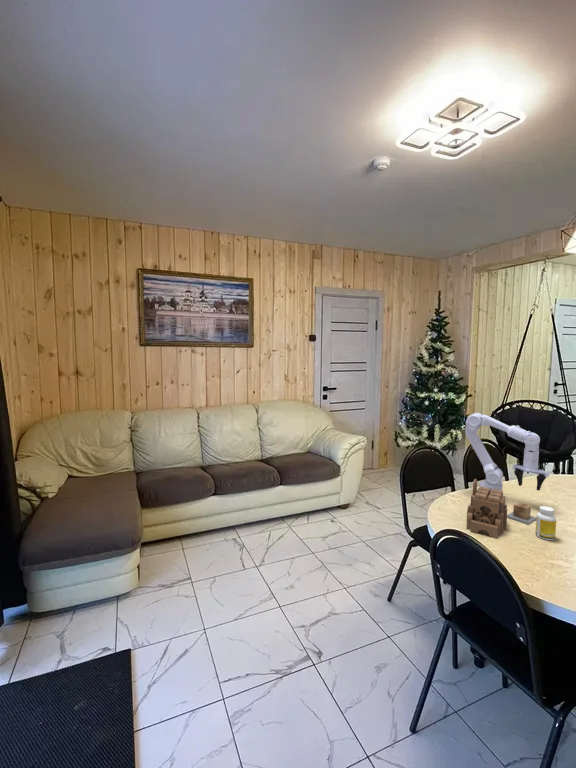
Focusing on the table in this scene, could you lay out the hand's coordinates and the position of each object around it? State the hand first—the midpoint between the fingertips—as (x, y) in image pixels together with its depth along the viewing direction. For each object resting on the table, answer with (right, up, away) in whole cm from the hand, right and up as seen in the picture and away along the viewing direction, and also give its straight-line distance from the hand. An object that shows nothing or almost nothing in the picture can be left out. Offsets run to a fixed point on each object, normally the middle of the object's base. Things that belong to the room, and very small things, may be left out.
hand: (529, 487), depth 177 cm
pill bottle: (-11, -12, -28) cm, 32 cm away
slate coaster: (-10, -11, -11) cm, 18 cm away
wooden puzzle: (-29, -11, -17) cm, 36 cm away
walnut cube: (-10, -10, -10) cm, 17 cm away
